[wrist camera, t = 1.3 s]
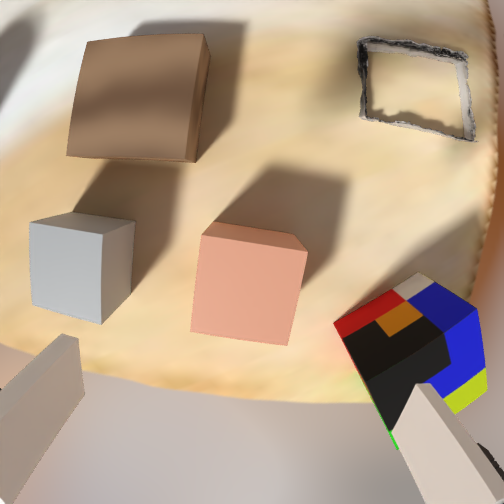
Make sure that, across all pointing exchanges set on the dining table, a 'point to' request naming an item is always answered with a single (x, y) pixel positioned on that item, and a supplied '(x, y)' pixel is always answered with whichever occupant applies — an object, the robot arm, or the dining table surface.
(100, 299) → the slate grey cube
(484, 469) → the robot arm
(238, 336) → the terracotta cube
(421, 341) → the puzzle toy
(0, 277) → the dining table surface
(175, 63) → the walnut base block
